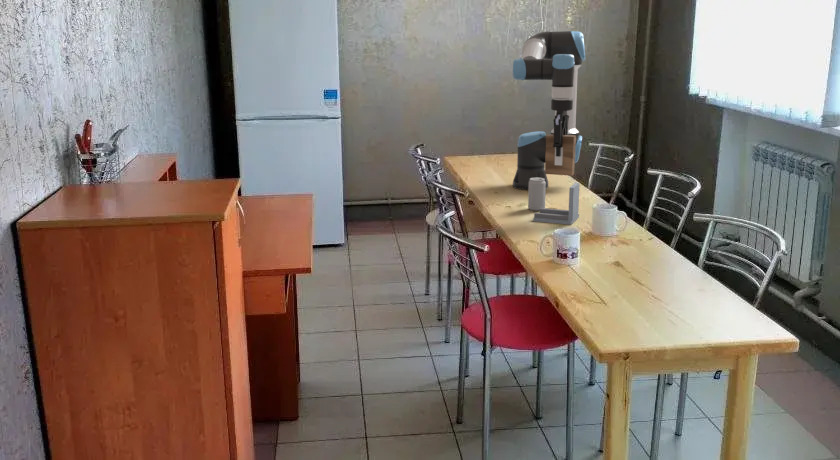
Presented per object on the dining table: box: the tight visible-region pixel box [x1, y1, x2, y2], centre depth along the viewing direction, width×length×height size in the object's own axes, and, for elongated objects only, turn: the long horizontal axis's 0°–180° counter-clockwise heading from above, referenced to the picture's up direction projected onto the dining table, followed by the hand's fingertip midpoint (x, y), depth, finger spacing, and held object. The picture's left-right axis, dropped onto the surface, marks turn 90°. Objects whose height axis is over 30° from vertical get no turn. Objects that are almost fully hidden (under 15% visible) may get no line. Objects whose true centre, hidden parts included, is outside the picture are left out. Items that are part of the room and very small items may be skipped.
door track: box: [532, 182, 581, 225], centre depth 285 cm, size 12×14×13 cm
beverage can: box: [527, 178, 547, 212], centre depth 299 cm, size 6×6×12 cm
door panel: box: [545, 133, 576, 177], centre depth 285 cm, size 4×10×14 cm, turn 66°
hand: (559, 164), depth 285 cm, fingers closed on door panel, 3 cm apart
